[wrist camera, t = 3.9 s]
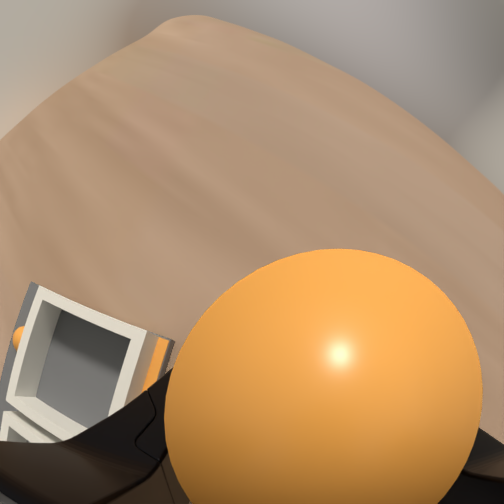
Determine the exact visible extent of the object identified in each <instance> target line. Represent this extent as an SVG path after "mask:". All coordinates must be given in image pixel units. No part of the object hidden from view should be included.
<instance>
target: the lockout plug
mask: <svg viewBox="0 0 504 504" xmlns="http://www.w3.org/2000/svg"><path fill="white" fill-rule="evenodd" d="M482 393H483V387H482V375H481V367H480V362H479V358H478V353H477V350H476V347H475V344H474V341H473V338H472V336H471V333H470V331H469V329H468V327H467V325H466V323H465V321H464V319H463V318H462V316H461V315H460V313H459V312H458V310H457V309H456V307H455V306H454V304H453V303H452V302H451V301H450V300H449V298H448V297H447V296H446V295H445V294H444V293H443V292H442V291H441V290H440V289H439V288H438V287H437V286H436V285H435V284H434V283H432V282H431V281H430V280H429V279H428V278H426V277H425V276H423V275H422V274H420V273H419V272H417V271H416V270H414V269H413V268H411V267H409V266H407V265H405V264H403V263H401V262H399V261H397V260H394V259H391V258H388V257H385V256H383V255H380V254H375V253H371V252H366V251H361V250H350V249H326V250H316V251H310V252H305V253H299V254H296V255H293V256H289V257H286V258H283V259H280V260H277V261H275V262H273V263H271V264H268V265H266V266H264V267H262V268H260V269H258V270H256V271H254V272H253V273H251V274H250V275H248V276H246V277H245V278H243V279H241V280H240V281H238V282H237V283H236V284H235V285H233V286H232V287H231V288H230V289H228V290H227V291H226V292H225V293H223V294H222V295H221V296H220V297H219V298H218V299H217V300H216V301H215V302H214V303H213V304H212V305H211V306H210V307H209V308H208V309H207V310H206V311H205V313H204V314H203V315H202V317H201V318H200V319H199V321H198V322H197V323H196V325H195V326H194V327H193V329H192V330H191V332H190V333H189V335H188V337H187V339H186V341H185V342H184V344H183V346H182V348H181V350H180V352H179V354H178V357H177V359H176V362H175V364H174V367H173V370H172V372H171V376H170V380H169V384H168V389H167V393H166V401H165V413H164V424H165V438H166V444H167V449H168V453H169V457H170V461H171V464H172V467H173V469H174V472H175V474H176V477H177V479H178V481H179V483H180V485H181V487H182V488H183V490H184V492H185V493H186V495H187V497H188V498H189V500H190V501H191V502H192V504H437V503H438V502H439V501H440V500H441V499H442V498H443V497H444V496H445V494H446V493H447V492H448V490H449V489H450V488H451V486H452V485H453V484H454V482H455V481H456V479H457V478H458V476H459V474H460V472H461V471H462V469H463V467H464V465H465V463H466V461H467V459H468V457H469V454H470V452H471V449H472V447H473V444H474V441H475V438H476V434H477V431H478V427H479V422H480V416H481V410H482Z"/></svg>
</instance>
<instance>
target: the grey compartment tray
mask: <svg viewBox="0 0 504 504" xmlns="http://www.w3.org/2000/svg"><path fill="white" fill-rule="evenodd" d="M174 342H175V341H173V340H171V339H169V338H166V337H163V336H160V335H157V334H154V333H152V332H149V331H146V330H144V329H141V328H138V327H135V326H133V325H130V324H128V323H125V322H122V321H120V320H117V319H115V318H112V317H110V316H107V315H105V314H102V313H100V312H97V311H95V310H93V309H90V308H88V307H86V306H83V305H81V304H79V303H76V302H74V301H72V300H70V299H67V298H65V297H63V296H61V295H59V294H56V293H54V292H52V291H50V290H48V289H46V288H44V287H42V286H40V285H37V284H35V283H33V282H31V283H30V285H29V288H28V290H27V293H26V296H25V298H24V301H23V304H22V307H21V310H20V313H19V316H18V319H17V322H16V325H15V328H14V331H13V334H12V338H11V341H10V345H9V348H8V352H7V356H6V359H5V363H4V367H3V372H2V376H1V380H0V441H11V442H29V443H55V442H61V441H64V440H67V439H70V438H72V437H74V436H76V435H78V434H79V433H81V432H83V431H85V430H86V429H88V428H90V427H91V426H93V425H95V424H97V423H98V422H100V421H102V420H103V419H105V418H107V417H108V416H110V415H112V414H113V413H115V412H116V411H118V410H119V409H121V408H122V407H124V406H125V405H127V404H128V403H129V402H131V401H132V400H133V399H135V398H136V397H137V396H139V395H140V394H141V393H142V392H144V391H145V390H147V388H149V387H150V386H151V385H152V384H154V383H155V382H156V381H157V380H158V379H160V378H161V377H162V376H163V375H164V374H165V370H166V367H167V364H168V361H169V358H170V354H171V351H172V348H173V345H174Z"/></svg>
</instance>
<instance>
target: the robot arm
mask: <svg viewBox="0 0 504 504" xmlns="http://www.w3.org/2000/svg"><path fill="white" fill-rule="evenodd" d="M172 370H173V368H172V369H171V370H169V371H168V372H167V373H166V374H165V375H163V376H162V377H161V378H160V379H158V380H157V381H156V382H155V383H154V384H152V385H151V386H150V387H149V388H147V390H145V391H144V392H142V393H141V394H140V395H139V396H137V397H136V398H135V399H133V400H132V401H131V402H129V403H128V404H127V405H125V406H124V407H122V408H121V409H119V410H118V411H116V412H115V413H113V414H112V415H110V416H108V417H107V418H105V419H103V420H102V421H100V422H98V423H97V424H95V425H93V426H91V427H90V428H88V429H86V430H85V431H83V432H81V433H79V434H78V435H76V436H74V437H72V438H70V439H67V440H64V441H61V442H55V443H29V442H11V441H0V504H189V502H190V500H189V498H188V497H187V495H186V493H185V492H184V490H183V488H182V487H181V485H180V483H179V481H178V479H177V477H176V474H175V472H174V469H173V467H172V464H171V461H170V457H169V453H168V449H167V444H166V438H165V424H164V413H165V401H166V393H167V389H168V384H169V380H170V376H171V372H172ZM437 504H504V444H502V443H501V442H499V441H498V440H496V439H495V438H493V437H492V436H490V435H489V434H488V433H486V432H485V431H483V430H482V429H480V428H479V427H478V431H477V434H476V438H475V441H474V444H473V447H472V449H471V452H470V454H469V457H468V459H467V461H466V463H465V465H464V467H463V469H462V471H461V472H460V474H459V476H458V478H457V479H456V481H455V482H454V484H453V485H452V486H451V488H450V489H449V490H448V492H447V493H446V494H445V496H444V497H443V498H442V499H441V500H440V501H439V502H438V503H437Z"/></svg>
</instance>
